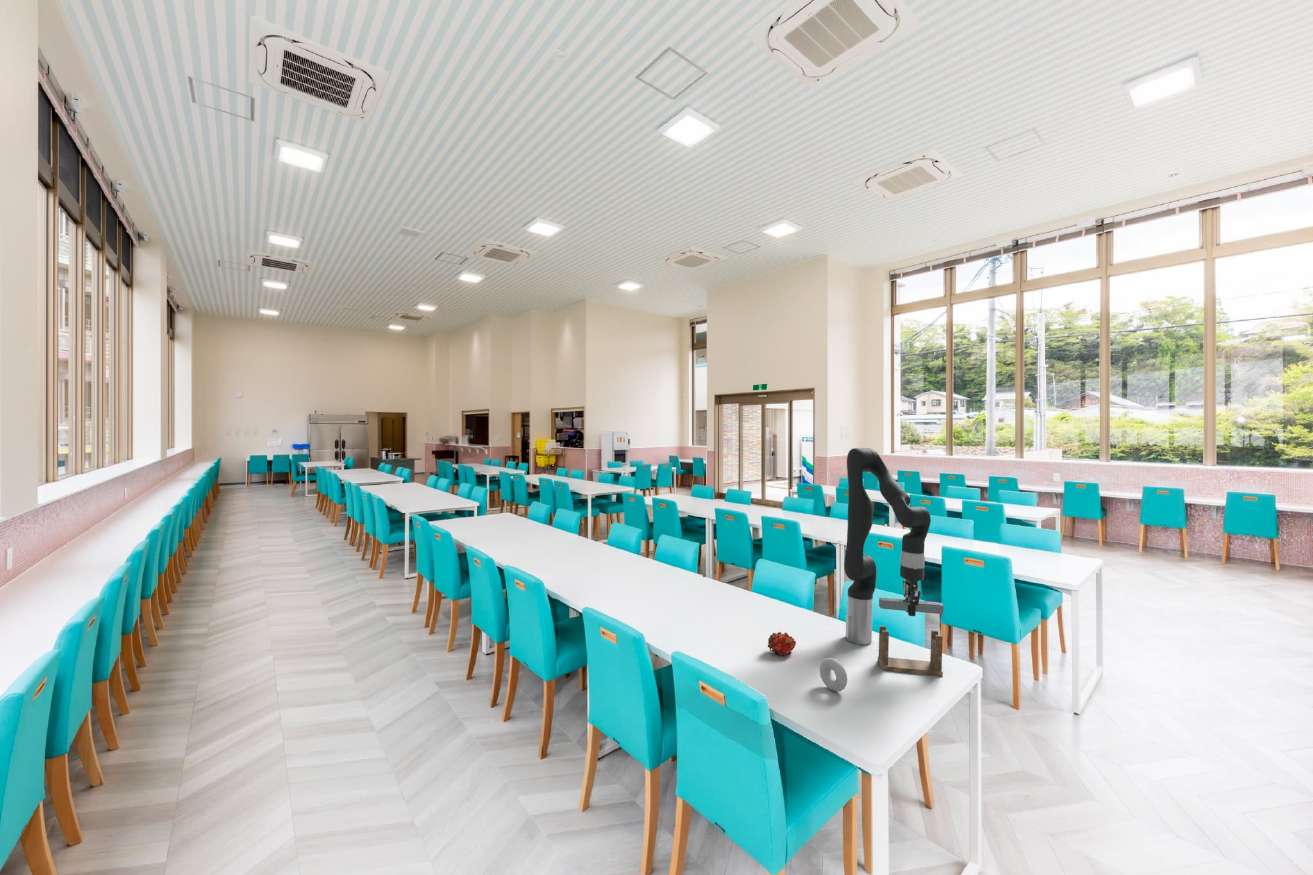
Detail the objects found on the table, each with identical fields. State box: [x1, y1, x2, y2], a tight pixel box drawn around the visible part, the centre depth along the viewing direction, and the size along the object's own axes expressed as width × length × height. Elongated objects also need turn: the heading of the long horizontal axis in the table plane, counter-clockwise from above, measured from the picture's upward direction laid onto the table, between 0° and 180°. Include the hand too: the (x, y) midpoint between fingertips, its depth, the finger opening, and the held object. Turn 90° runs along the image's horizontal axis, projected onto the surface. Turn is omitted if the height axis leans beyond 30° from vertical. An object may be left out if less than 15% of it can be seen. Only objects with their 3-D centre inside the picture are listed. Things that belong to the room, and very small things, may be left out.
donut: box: [819, 657, 848, 693], centre depth 169 cm, size 10×4×10 cm, turn 30°
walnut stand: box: [877, 625, 944, 677], centre depth 186 cm, size 19×8×13 cm, turn 78°
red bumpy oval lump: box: [767, 631, 797, 657], centre depth 196 cm, size 8×8×12 cm
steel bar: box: [878, 596, 945, 615], centre depth 185 cm, size 20×3×3 cm, turn 78°
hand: (910, 613), depth 186 cm, fingers closed on steel bar, 3 cm apart
